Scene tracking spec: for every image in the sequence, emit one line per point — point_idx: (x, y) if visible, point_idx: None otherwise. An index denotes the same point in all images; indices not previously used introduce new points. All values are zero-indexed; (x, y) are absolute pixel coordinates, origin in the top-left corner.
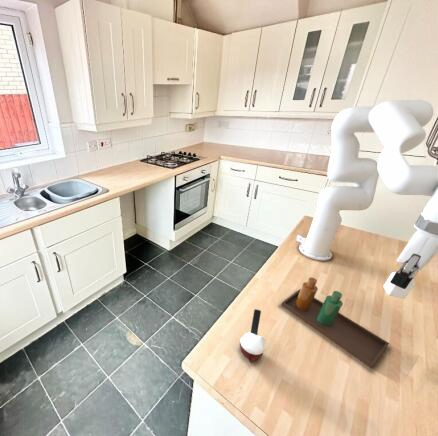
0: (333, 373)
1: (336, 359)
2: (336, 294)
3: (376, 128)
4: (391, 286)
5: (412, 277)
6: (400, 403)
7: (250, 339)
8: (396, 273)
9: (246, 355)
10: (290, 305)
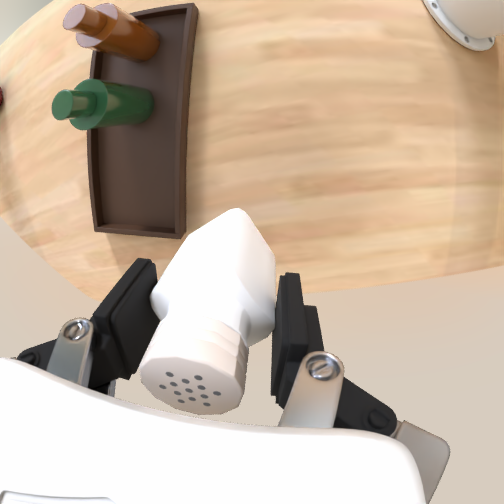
0: (49, 188)
1: (72, 177)
2: (55, 105)
3: None
4: (177, 254)
5: (127, 377)
6: (92, 270)
7: None
8: (102, 308)
9: None
10: None
